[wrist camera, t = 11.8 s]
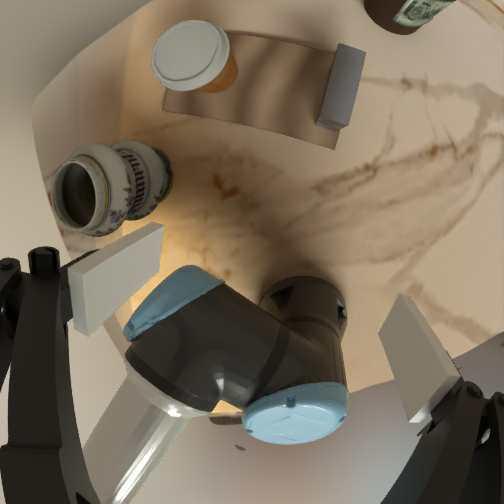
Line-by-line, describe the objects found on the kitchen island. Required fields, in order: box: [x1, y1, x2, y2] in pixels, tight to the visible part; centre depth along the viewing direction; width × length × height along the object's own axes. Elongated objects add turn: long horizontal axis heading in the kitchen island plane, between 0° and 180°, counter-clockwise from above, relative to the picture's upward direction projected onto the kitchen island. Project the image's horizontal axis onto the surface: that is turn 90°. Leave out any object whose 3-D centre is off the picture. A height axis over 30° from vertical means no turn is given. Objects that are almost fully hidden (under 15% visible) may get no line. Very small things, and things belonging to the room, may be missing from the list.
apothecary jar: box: [51, 140, 173, 237], centre depth 33 cm, size 12×12×18 cm
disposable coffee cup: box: [151, 20, 238, 93], centre depth 28 cm, size 10×10×12 cm
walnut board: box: [162, 33, 366, 150], centre depth 28 cm, size 26×14×11 cm, turn 76°
